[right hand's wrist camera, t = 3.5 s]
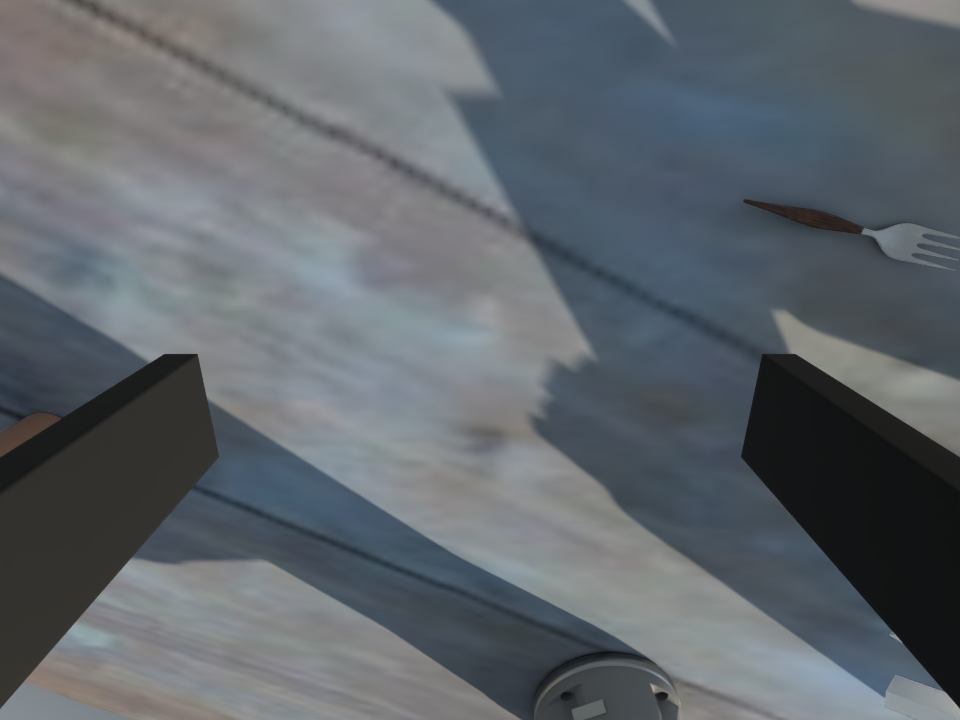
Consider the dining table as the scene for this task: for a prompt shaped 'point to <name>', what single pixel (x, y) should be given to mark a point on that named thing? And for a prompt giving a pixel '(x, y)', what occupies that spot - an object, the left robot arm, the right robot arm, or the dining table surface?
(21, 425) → the brown tube
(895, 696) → the white plastic object
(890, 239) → the fork
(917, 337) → the dining table surface
